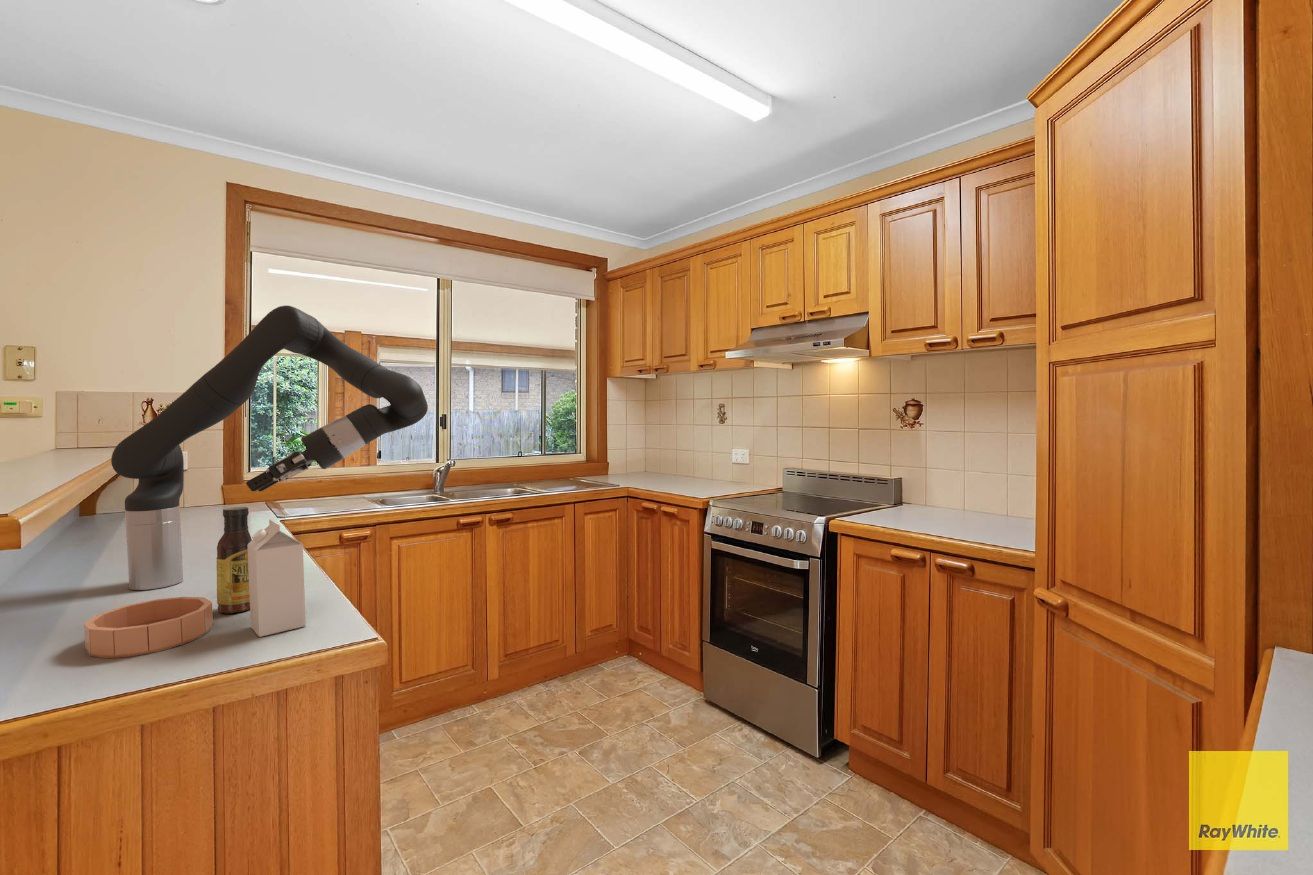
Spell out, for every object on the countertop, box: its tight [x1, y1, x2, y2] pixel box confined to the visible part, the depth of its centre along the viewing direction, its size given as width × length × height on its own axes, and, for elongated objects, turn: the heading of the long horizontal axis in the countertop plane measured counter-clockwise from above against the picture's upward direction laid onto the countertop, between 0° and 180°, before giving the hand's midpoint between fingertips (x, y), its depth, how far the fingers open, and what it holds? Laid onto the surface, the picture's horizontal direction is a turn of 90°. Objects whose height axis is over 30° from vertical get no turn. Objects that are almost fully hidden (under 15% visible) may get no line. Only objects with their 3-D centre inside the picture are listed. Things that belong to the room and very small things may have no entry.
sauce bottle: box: [216, 506, 253, 615], centre depth 114 cm, size 7×6×20 cm
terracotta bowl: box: [83, 596, 214, 659], centre depth 100 cm, size 16×16×4 cm
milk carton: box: [247, 518, 307, 638], centre depth 104 cm, size 7×7×19 cm
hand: (252, 487), depth 112 cm, fingers open, 8 cm apart
